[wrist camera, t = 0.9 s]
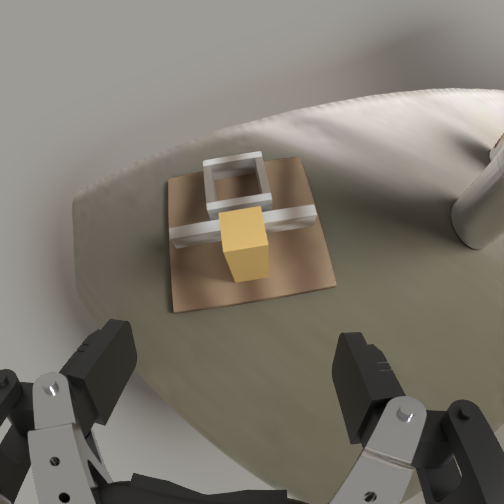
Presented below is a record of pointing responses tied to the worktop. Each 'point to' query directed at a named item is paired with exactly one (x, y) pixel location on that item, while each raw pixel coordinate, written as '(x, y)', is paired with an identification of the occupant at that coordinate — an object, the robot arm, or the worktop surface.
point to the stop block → (245, 243)
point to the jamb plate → (276, 225)
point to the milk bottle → (497, 148)
